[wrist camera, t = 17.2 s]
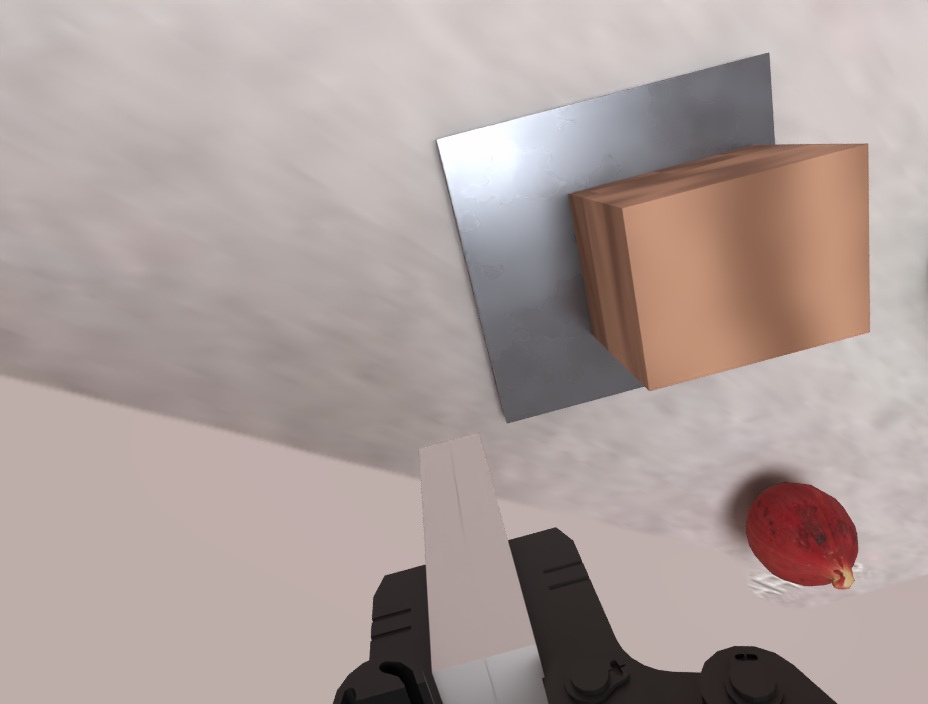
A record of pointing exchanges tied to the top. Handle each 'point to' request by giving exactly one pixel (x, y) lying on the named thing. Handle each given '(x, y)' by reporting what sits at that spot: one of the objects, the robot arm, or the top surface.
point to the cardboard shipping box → (727, 259)
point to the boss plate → (551, 224)
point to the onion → (803, 535)
